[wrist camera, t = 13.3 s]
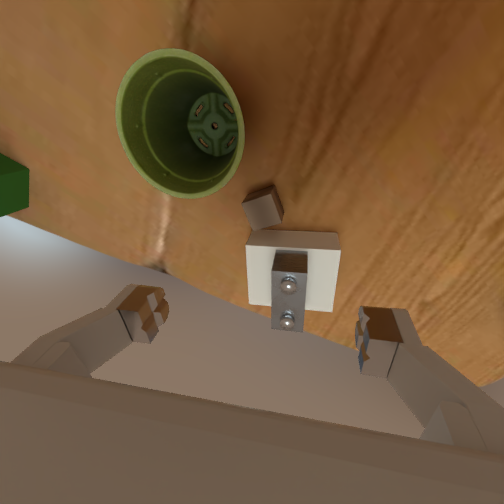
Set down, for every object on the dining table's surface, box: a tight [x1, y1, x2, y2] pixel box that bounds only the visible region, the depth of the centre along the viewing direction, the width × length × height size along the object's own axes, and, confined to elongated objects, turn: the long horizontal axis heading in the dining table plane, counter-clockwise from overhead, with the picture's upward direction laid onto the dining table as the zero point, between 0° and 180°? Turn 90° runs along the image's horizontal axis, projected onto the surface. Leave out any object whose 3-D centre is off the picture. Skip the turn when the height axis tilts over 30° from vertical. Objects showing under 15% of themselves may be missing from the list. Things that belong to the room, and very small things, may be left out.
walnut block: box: [242, 185, 284, 231], centre depth 34 cm, size 4×4×4 cm
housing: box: [271, 250, 308, 332], centre depth 32 cm, size 9×4×6 cm, turn 3°
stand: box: [246, 229, 341, 312], centre depth 37 cm, size 12×10×5 cm
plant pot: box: [115, 48, 245, 199], centre depth 27 cm, size 12×12×11 cm
